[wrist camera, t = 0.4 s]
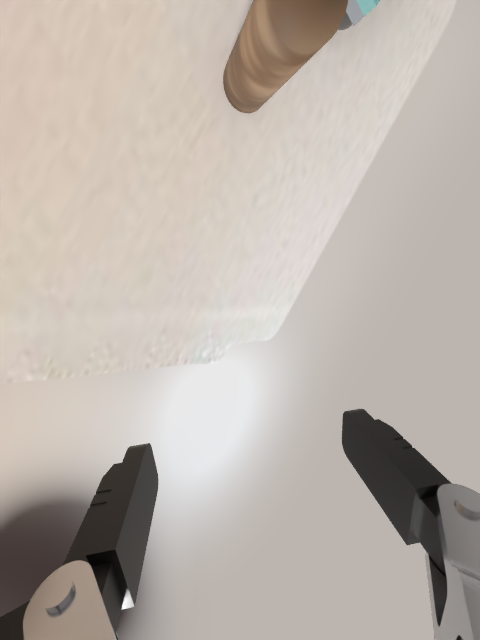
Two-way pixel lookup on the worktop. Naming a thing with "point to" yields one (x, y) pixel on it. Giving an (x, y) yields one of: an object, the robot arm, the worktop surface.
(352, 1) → the wheeled cart
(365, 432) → the robot arm
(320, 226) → the worktop surface
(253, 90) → the cylinder
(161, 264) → the worktop surface
